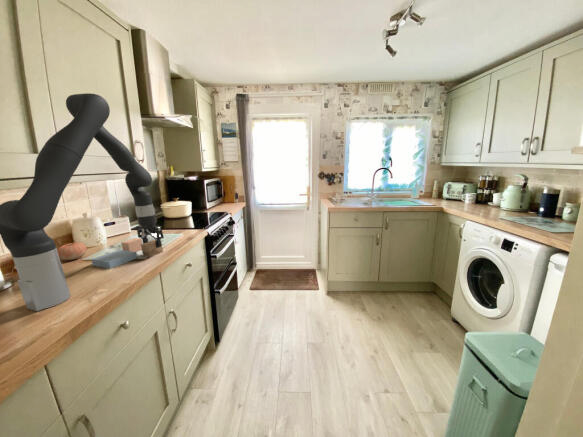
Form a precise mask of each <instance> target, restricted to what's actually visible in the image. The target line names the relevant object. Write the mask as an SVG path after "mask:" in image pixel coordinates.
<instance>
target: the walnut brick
mask: <svg viewBox="0 0 583 437" xmlns="http://www.w3.org/2000/svg"><path fill="white" fill-rule="evenodd" d="M155 241H156V240H155V239H153V240H150V241H148V242H147V243H144V244H143V243H142V244H141V248H142V250H141V251H142V252H141V253H142V256H143V257H146V256H148V258H152V257H155V256H157V255H159V254H161V253H163V252H164V249H163V244H162V241H161V247H159V248H157V247H156V243H155Z"/></svg>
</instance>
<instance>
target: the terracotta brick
mask: <svg viewBox="0 0 583 437" xmlns="http://www.w3.org/2000/svg"><path fill="white" fill-rule="evenodd" d="M120 244H121V248H122V249H121V250H125V251H133V252H136V253H138V252H141V251H142V248H141V244H143V240H142V239H141V238H139V237H138V238H137V237H134V238H131V239H127V240H124V241H121V242H120ZM140 250H141V251H140ZM137 251H138V252H137Z"/></svg>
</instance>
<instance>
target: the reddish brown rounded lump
mask: <svg viewBox="0 0 583 437" xmlns="http://www.w3.org/2000/svg"><path fill="white" fill-rule="evenodd" d="M57 251H58V255H59V258H60V260H63V261H74V260H77V259H80V258H82V257H83V256H84V255H85V254H86V253H87V246H86V245H85V244H84V243H81V242H71V243H70V242H69V243H66V244H63V245H60V246H59V247H58V248H57Z"/></svg>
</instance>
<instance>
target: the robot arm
mask: <svg viewBox="0 0 583 437" xmlns="http://www.w3.org/2000/svg"><path fill="white" fill-rule="evenodd" d="M65 106H66V109H67V111H68V113H70V115H71V116H72V118H73V119H72V120H71V121H70V122H69V123H68V124H66V125H65V126H64V127H63V128H61V129H60V130H58V131H57V132H55V133H54V134H53V135H52V136H50V137H49V139H48V140H47V141H46V142H45V143H44V145H43V146H42V148H41V149H40V151H39V153H38V154H37V157H36V159H35V164H34V175H33V180H32V182H31V183H30V185H29V187H28V188H27V190H26V192H25V193H24V194H23V195H22V196H21V198H19V199H12V200H8V201H4V202H2V203H0V237H1V240H2V242H3V244H4V246H5V247H6V249H8V251H9V252H10V254H11V256H12V260H13V262H14V266H15V268H16V271H17V275H18V276H19V278H18V279H17V285H18V287H19V290H20V293H21V296H22V298H23V301H24V305H25V307H26V309H29V310H31V311H33V312H34V311H35V312H39V311H42V310H45V309H48V308H51V307H54V306H55V307H56V306H57V305H60V304H62V303H63V302H65V301H67V300H69V298H70V297H71V293H70V289H69V286H68V282H67V279H66V275H65V272H64V269H63V265H62V263H61V259H60V258H59V255H58V251H57V249H58V248H57V245H56V242H55V240H54V239H53V238H52V237H50V235H48V234H47V233H46V230H45V229H44V228H46V227H47V226H48V225H49V224H50V223H51V221H52V219H53V218H54V216H55V213H56V210H57V207H58V205H59V203H60V200H61V197H62V195H63V192H64V191H65V189H66V188H67V186H68V185H69V182H70V180H72V177H73V175H74V174H75V172H76V171H77V169H78V167H79V165H80V163H81V162H82V160H83V158H84V156H85V154H86V152H87V150H88V149H89V147H90V145H91V143H92V141H93V140H94V139H95V140H96V141H97V143H99V144H100V145H101V146H102V148H103V149H104V150H105V151H106V152H107V153H108V155H109V156H110V157H111V159H112V160H113V161H114V162H115V164H116V165H117V166H118V168H119V169H120V170H121V171H123V172H127V173H126V174H125V177H124V179H125V180H124V181H125V185H126V186H127V189H128V190H129V192H130V194H131V196H132V199H133V201H134V206H135V214H136V218H137V224H138V225H137V226H136V233H137V237H138V238H139V239H142V244H144V243H147V242H149V239H148V236H150V237H151V238H153V240H156V241H155V243H156V247H157V248H159V247H161V242H162V240H161V239H164V238H165V237H164V232H163V229H162V226H161V225H159V226H156V224H157V223H158V222H157V221H158V220H157V217H156V211H155V207H154V204H153V198H152V195H151V193H150V192H148V191H145V190H143V188H146V187H150V186H151V185H152V182H153V178H152V175H151V173H150V172H149V171H148V170H147V169H146V168H145V167H144V166H143V165H142V164H140V163H139V162H138V161H137V160H136V159H135V157H134V155H133V154H132V152H131V151H130V150H129V148H128V147H127V146H126V145H125V144H124V143H123V142H122V141H120V140H119V139H118V138H116V137H115V136H114V135H113V134H112V133H111V132H109V131H108V129H106V127H105V126H104V124H105V123H106V122H107V120H108V119H109V116H110V110H111V109H110V106H109V103H108V101H107V100H106V99H105V98H104V97H102V96H101V95H99V94H96V93H88V92H87V93H75V94H71V95H68V97H66V100H65Z"/></svg>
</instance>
